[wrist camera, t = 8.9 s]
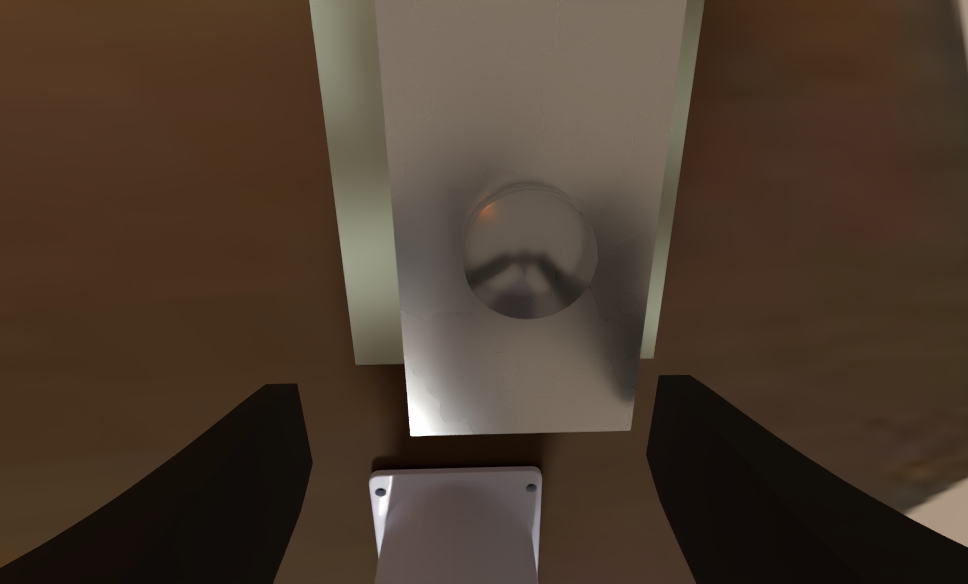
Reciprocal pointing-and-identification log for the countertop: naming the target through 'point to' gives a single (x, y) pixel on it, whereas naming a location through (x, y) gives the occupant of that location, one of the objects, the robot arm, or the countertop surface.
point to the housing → (525, 204)
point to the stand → (366, 186)
